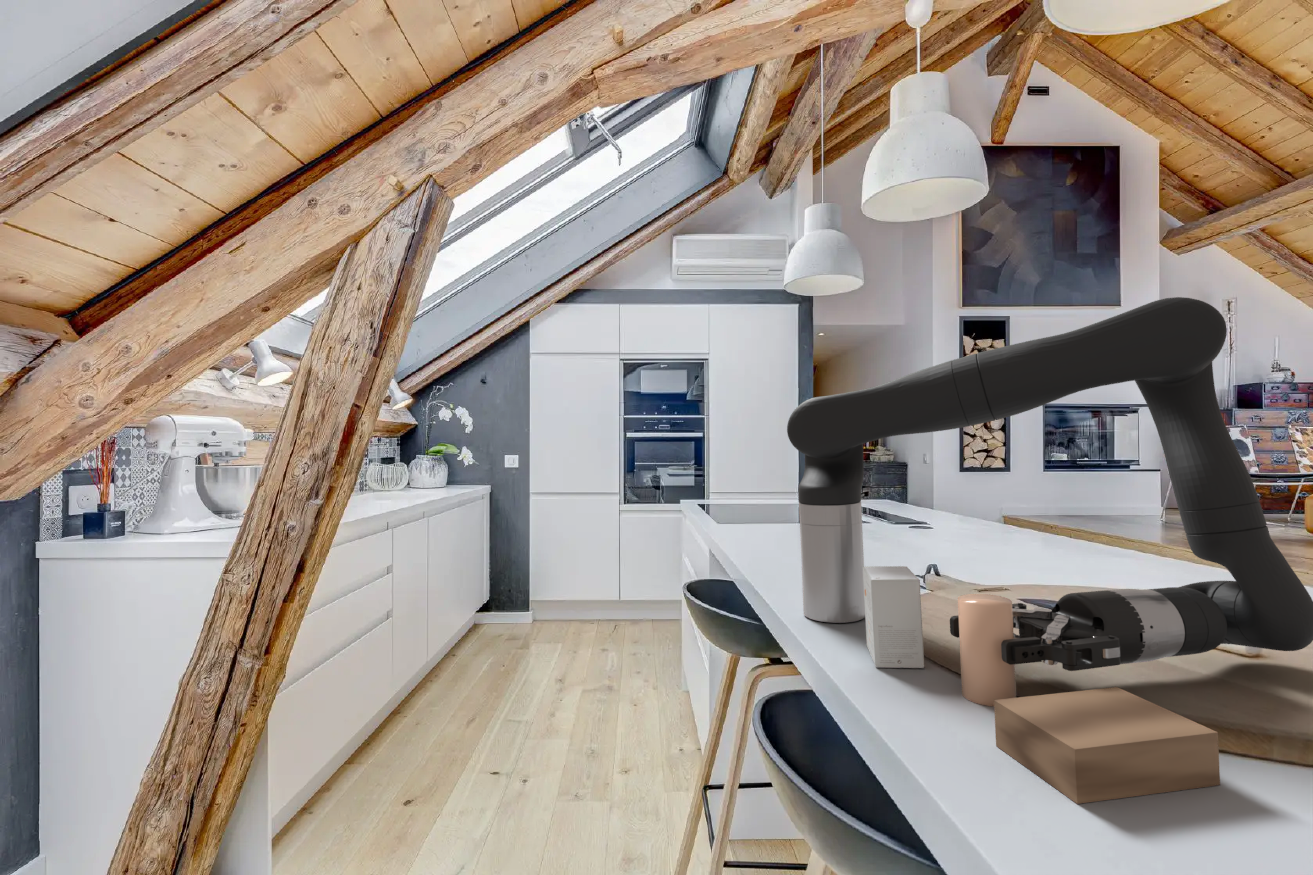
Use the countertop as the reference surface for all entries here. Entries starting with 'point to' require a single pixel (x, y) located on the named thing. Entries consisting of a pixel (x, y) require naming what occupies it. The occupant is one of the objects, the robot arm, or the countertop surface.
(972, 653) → the terracotta canister
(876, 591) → the small box
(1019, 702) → the walnut plinth
